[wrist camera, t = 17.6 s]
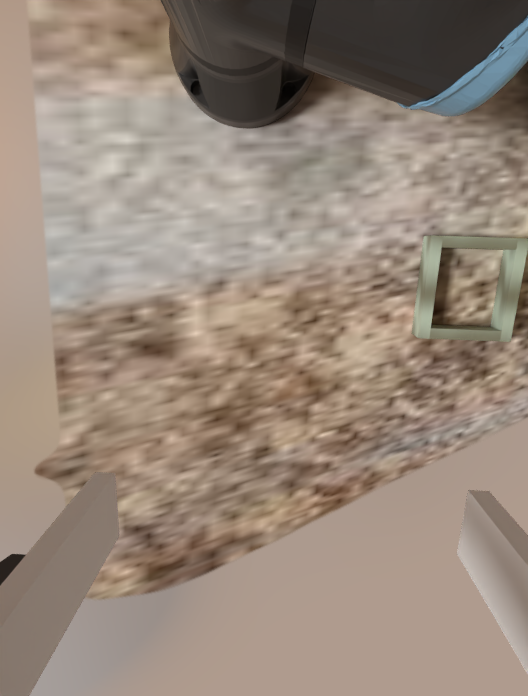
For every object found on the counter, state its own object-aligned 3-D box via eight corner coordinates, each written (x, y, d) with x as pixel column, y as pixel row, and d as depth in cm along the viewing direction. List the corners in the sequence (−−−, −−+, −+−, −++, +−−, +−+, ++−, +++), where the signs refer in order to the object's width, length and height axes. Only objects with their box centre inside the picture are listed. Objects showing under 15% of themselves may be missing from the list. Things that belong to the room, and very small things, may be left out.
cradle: (423, 236, 45) (431, 235, 43) (516, 239, 45) (529, 238, 42) (411, 333, 48) (418, 338, 45) (498, 337, 48) (510, 341, 45)
